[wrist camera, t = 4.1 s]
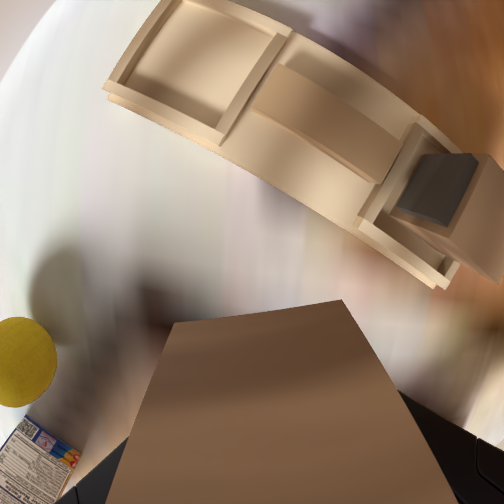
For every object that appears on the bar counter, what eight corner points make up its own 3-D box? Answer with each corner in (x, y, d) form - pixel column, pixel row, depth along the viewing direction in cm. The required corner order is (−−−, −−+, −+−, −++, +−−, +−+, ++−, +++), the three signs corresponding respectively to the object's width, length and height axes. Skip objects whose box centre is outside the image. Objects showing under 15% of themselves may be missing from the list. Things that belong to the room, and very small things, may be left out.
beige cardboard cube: (174, 323, 7) (86, 566, 2) (341, 299, 7) (471, 530, 2) (214, 444, 9) (200, 616, 3) (341, 428, 9) (389, 595, 3)
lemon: (19, 288, 19) (-51, 335, 11) (78, 320, 19) (14, 385, 11) (18, 345, 20) (-37, 398, 12) (72, 376, 20) (23, 443, 13)
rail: (480, 181, 17) (557, 194, 10) (425, 283, 18) (489, 333, 12) (185, -5, 14) (157, -75, 7) (114, 102, 16) (44, 74, 9)
